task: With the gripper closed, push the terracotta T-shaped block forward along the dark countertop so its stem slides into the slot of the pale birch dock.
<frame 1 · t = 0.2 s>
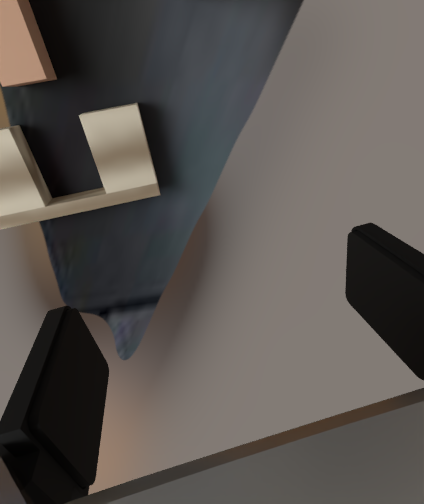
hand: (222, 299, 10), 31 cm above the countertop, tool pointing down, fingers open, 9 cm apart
dock: (69, 164, 36), on the countertop
t block: (9, 10, 29), on the countertop
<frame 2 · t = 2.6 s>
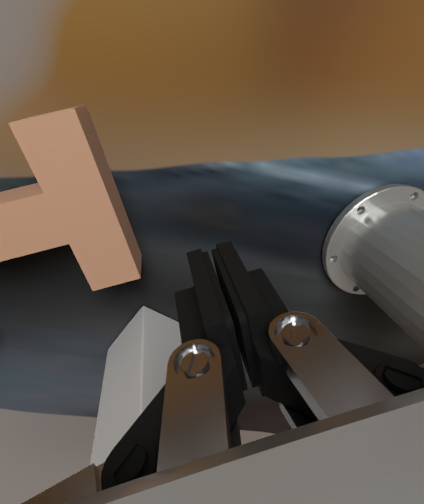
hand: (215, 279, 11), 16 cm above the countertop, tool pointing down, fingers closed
milk carton: (153, 337, 34), on the countertop
t block: (45, 207, 25), on the countertop
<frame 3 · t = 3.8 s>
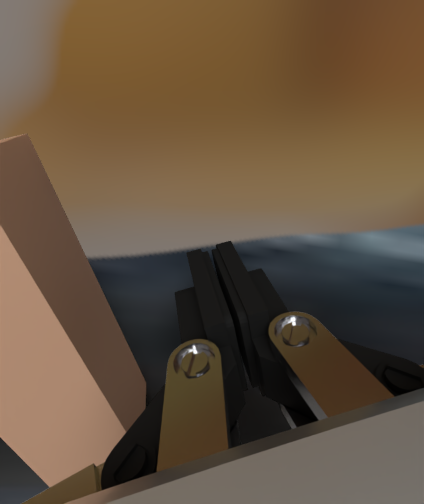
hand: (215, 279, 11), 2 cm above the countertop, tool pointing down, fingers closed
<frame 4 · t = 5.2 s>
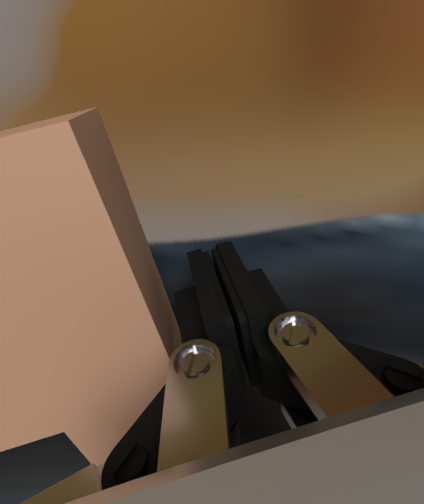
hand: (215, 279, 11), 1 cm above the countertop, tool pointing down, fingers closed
t block: (14, 321, 12), on the countertop, touching gripper
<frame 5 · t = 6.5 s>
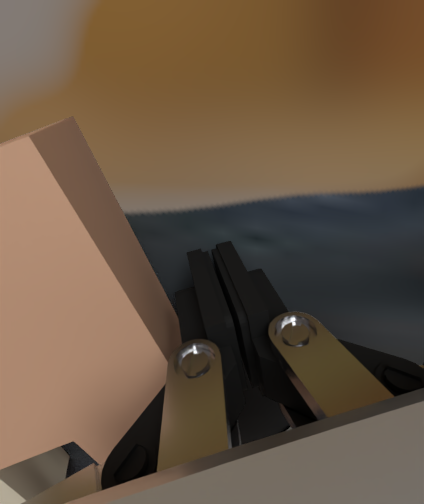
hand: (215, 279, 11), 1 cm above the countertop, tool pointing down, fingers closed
t block: (20, 335, 12), on the countertop, touching gripper
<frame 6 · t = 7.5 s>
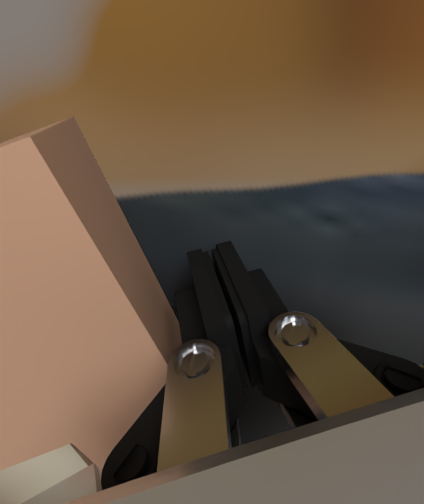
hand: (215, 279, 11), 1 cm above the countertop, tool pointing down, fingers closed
t block: (18, 335, 12), on the countertop, touching dock, gripper
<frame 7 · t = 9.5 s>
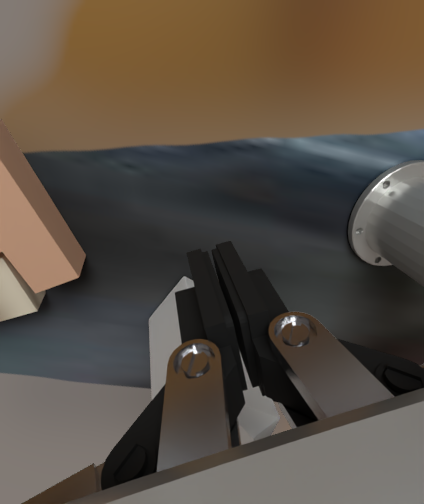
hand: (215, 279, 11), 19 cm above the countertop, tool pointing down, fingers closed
milk carton: (190, 308, 36), on the countertop
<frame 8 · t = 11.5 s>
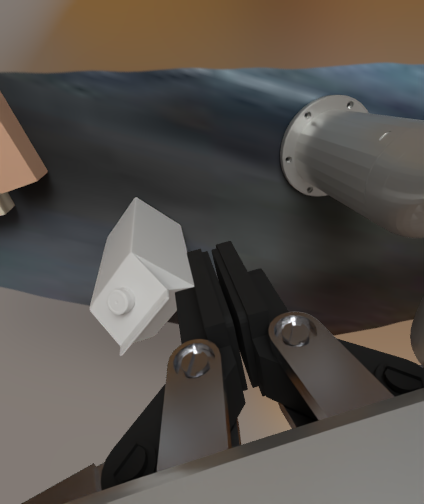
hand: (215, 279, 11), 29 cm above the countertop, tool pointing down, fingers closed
milk carton: (144, 230, 41), on the countertop
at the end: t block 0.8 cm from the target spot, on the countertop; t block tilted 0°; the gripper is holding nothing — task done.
